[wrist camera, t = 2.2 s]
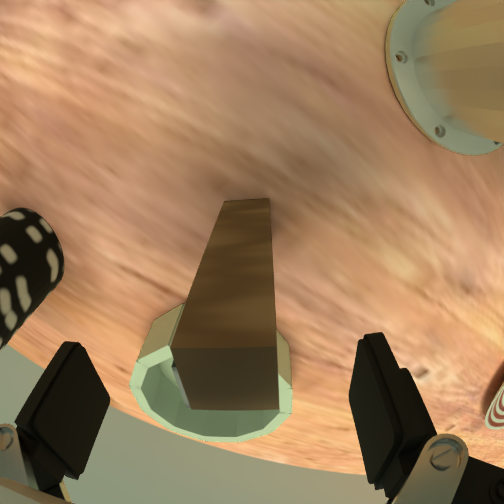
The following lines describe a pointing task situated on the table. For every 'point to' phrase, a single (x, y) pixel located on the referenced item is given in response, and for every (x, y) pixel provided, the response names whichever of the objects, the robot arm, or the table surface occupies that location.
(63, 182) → the table surface
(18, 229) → the white-spotted black cylinder
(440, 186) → the table surface
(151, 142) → the table surface
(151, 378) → the green faceted socket ring
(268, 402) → the wooden rectangular post
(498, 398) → the dinner plate
